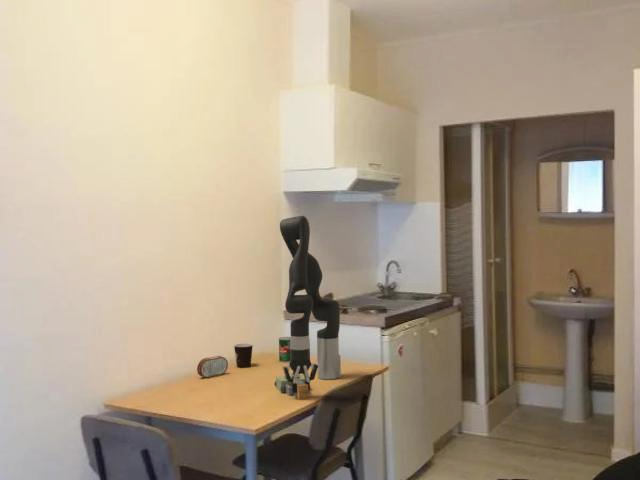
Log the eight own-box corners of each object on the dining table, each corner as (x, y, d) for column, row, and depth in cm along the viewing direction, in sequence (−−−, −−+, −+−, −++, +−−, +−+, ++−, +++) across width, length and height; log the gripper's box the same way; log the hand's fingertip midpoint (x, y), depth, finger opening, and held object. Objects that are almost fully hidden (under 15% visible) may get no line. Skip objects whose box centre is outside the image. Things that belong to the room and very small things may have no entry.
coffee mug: (251, 368, 310) (251, 346, 310) (233, 368, 310) (232, 347, 310) (254, 363, 321) (254, 342, 321) (236, 363, 322) (236, 342, 321)
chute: (301, 392, 263) (300, 379, 263) (308, 398, 253) (308, 385, 253) (291, 393, 262) (291, 380, 262) (299, 399, 252) (298, 386, 252)
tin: (225, 372, 302) (224, 354, 301) (229, 373, 299) (228, 355, 299) (196, 378, 291) (196, 359, 291) (201, 379, 289) (200, 360, 289)
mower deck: (302, 384, 276) (302, 371, 276) (313, 393, 261) (313, 379, 261) (274, 387, 272) (274, 373, 272) (284, 396, 258) (283, 381, 257)
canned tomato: (277, 362, 323) (277, 339, 323) (281, 358, 331) (280, 336, 330) (293, 362, 322) (293, 339, 321) (296, 359, 329) (296, 336, 329)
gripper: (314, 344, 262) (315, 388, 262) (279, 346, 258) (280, 391, 258) (320, 347, 255) (321, 392, 255) (284, 350, 250) (285, 396, 251)
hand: (300, 391), depth 257 cm, fingers open, 4 cm apart
